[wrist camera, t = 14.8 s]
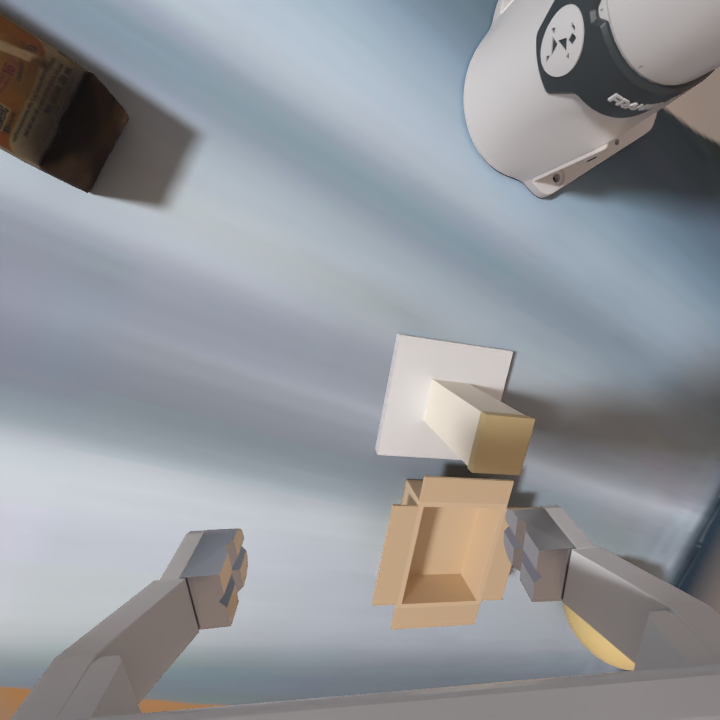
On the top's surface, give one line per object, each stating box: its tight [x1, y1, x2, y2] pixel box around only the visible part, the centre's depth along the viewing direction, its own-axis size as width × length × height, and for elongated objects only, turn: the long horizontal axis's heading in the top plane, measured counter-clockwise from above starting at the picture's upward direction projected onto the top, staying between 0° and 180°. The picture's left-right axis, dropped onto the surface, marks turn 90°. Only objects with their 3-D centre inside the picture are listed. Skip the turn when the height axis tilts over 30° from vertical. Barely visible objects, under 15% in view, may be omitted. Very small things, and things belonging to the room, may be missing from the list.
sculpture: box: [564, 604, 635, 670], centre depth 47 cm, size 11×12×11 cm
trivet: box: [375, 333, 513, 460], centre depth 39 cm, size 14×14×1 cm
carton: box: [372, 476, 515, 629], centre depth 42 cm, size 17×20×4 cm
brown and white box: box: [424, 379, 536, 475], centre depth 33 cm, size 5×5×11 cm
